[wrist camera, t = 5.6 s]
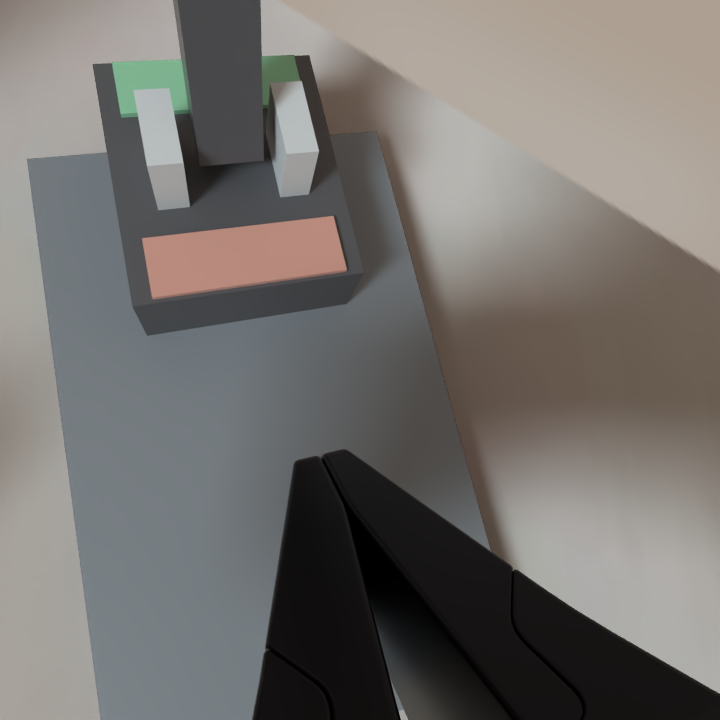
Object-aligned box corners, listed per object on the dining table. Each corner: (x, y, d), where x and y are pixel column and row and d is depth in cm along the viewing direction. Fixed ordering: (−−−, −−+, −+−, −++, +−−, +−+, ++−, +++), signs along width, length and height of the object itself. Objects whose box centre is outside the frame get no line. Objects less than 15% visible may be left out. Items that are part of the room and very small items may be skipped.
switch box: (498, 653, 18) (624, 723, 12) (124, 784, 15) (56, 958, 9) (360, 133, 21) (406, -4, 16) (39, 158, 18) (-48, 3, 13)
